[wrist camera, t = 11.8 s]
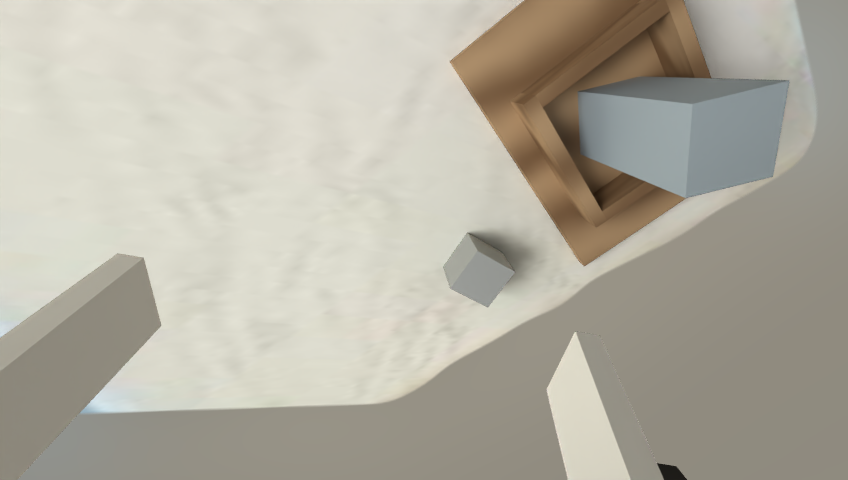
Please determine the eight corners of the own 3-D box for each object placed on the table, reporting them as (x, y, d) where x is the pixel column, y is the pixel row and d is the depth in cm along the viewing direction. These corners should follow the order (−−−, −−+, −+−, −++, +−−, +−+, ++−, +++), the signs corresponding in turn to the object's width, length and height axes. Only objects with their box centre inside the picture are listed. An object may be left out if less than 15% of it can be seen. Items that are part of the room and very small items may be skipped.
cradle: (449, 61, 29) (460, 60, 25) (637, -93, 26) (679, -119, 23) (579, 261, 38) (601, 282, 34) (731, 159, 35) (772, 169, 31)
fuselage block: (580, 154, 32) (685, 198, 21) (577, 91, 30) (692, 103, 19) (638, 140, 32) (772, 176, 21) (639, 76, 30) (789, 80, 19)
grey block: (442, 266, 36) (450, 288, 33) (467, 232, 35) (477, 250, 31) (477, 284, 37) (487, 307, 34) (501, 251, 36) (515, 272, 33)
